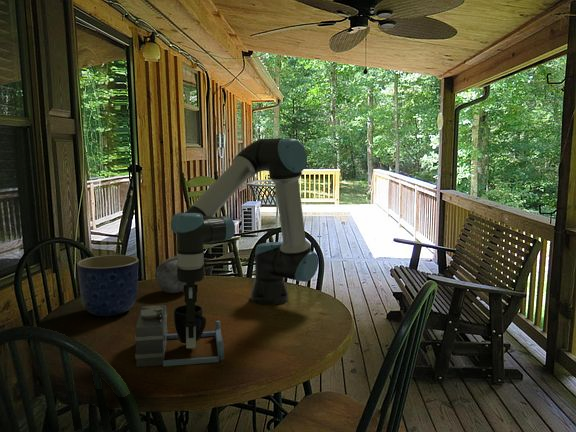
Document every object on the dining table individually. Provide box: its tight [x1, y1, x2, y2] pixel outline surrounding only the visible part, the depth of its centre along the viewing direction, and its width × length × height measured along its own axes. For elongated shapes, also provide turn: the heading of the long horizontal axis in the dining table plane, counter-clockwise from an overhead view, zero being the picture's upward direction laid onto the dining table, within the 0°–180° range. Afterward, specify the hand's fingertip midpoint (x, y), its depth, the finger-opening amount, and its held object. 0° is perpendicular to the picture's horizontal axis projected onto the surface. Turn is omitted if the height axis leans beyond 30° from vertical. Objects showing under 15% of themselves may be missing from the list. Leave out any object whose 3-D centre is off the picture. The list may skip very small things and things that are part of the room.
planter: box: [76, 254, 140, 317], centre depth 162 cm, size 21×21×19 cm
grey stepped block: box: [134, 304, 168, 368], centre depth 129 cm, size 7×18×13 cm, turn 12°
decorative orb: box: [154, 257, 187, 294], centre depth 186 cm, size 15×14×15 cm
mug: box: [173, 304, 207, 345], centre depth 131 cm, size 8×12×10 cm
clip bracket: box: [162, 320, 225, 367], centre depth 132 cm, size 16×20×5 cm
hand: (191, 340), depth 132 cm, fingers closed on mug, 10 cm apart
